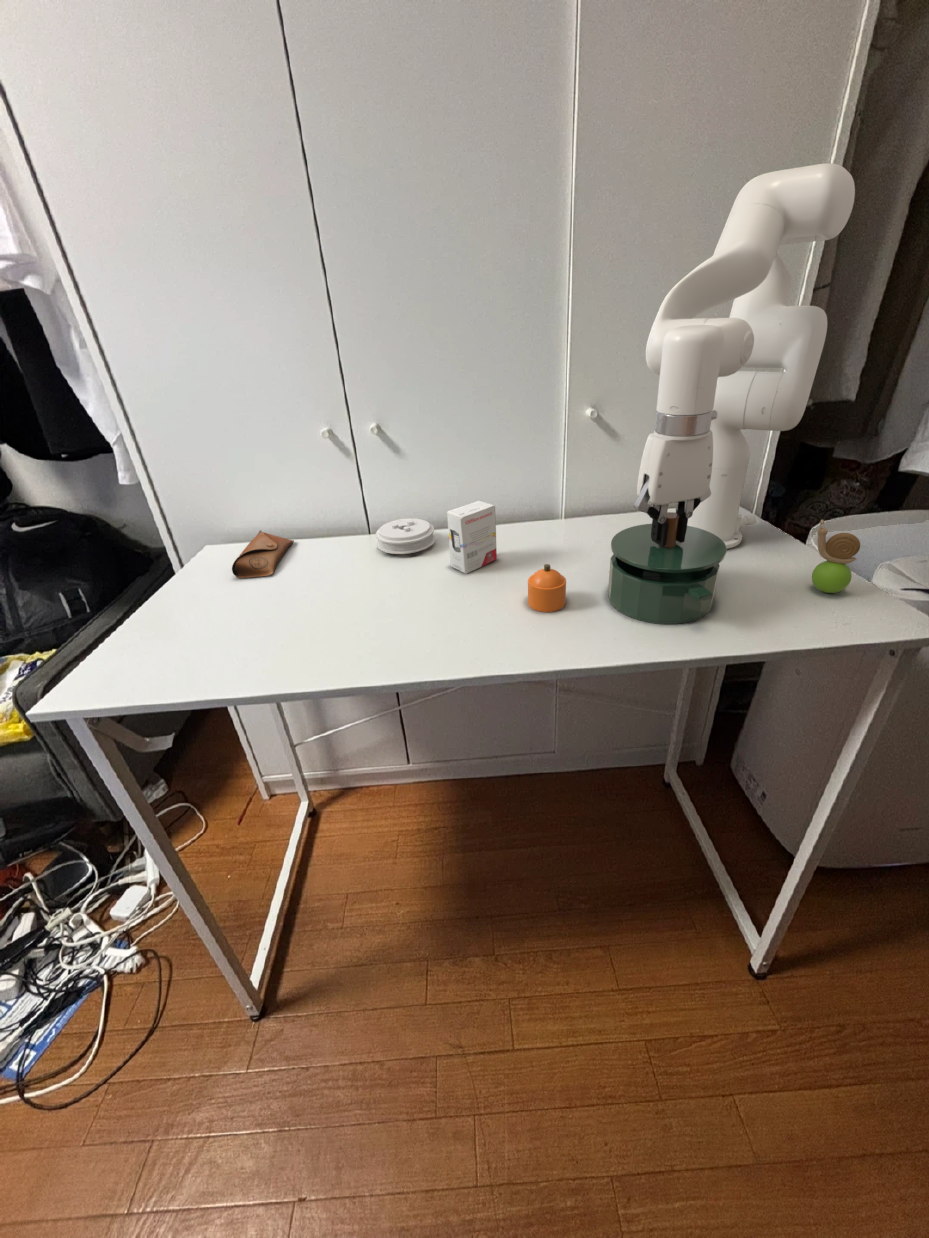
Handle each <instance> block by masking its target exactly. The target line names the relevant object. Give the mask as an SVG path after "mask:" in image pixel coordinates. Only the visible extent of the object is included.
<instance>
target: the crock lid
mask: <svg viewBox="0 0 929 1238" xmlns="http://www.w3.org/2000/svg"><path fill="white" fill-rule="evenodd" d="M679 517H680V515H679V514H677V513H676V512H673V511H669V512H668V511H667V516H666V521H665V522H667V523H668V524H669V525H668V533H667V541H666V545H665V546H662V547H661V546H659V545H658V544H656V543H655V542H653V541H652V539H651V529H652V523H644V524H638V525H634V526H629V527H627V528H625V529H621V530H620V531H619V532H617V533H616V534H615V535H614V536H613V537H612V539H611V540H610V549H611V552H612V553H613V554H614V555H615V556H616V557H617V558H619V559H620V560H622V561H623V562H625V563H627V564H630V565H632V566H635V567H638V568H642V569H646V570H651V571H657V572H667V573H684V572H694V571H700V570H704V569H708V568H710V567H713V566H715V565H717V564H718V563H719V564H720V563H721V562H722V561H723V560H724V559H725V557H726V556H727V550H728V549H727V548H726V545H725V543H724V542H723V541H722V540H721V539H720V538H719V537H718V536H716V535H714V534H712V533H710V532H708V531H705V530H703V529H700V528H696V527H692V526H687V530H686V534H685V541H684V542H681V543H680V542H678V541H677V540H676V539H677V532H678V525H679Z"/></svg>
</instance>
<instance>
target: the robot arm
mask: <svg viewBox="0 0 929 1238" xmlns="http://www.w3.org/2000/svg"><path fill="white" fill-rule="evenodd" d="M855 197H856V186H855V181H854V178H853V176H852V174H851V172H849V171H848V170H847V169H846V168H845V167H844V166H842V165H840V164H837V163H833V162H832V163H831V162H830V163H829V162H825V163H818V164H811V165H806V166H800V167H799V166H798V167H792V168H786V169H780V170H774V171H770V172H766V173H762V174H759V175H757V176H755V177H753V178H751V179H750V180H749V181H748V182H746V183H745V184H744V186H743V187H742V188H741V189H740V191H738V193H737V195H736V197H735V199H734V202H733V204H732V207H731V209H730V212H729V214H728V217H727V219H726V222H725V225H724V227H723V229H722V232H721V233H720V237H719V239H718V241H717V244H716V247H715V249H714V252H713V253H712V256H710V257H708V258H707V259H706V260H705V261H703V262H701V263H700V264H698V266H695V268H693V269H692V270H691V271H690V272H689V273H688V274H686V275H685V276H684V277H683V278H681V280H679V281H678V282H677V283H676V284H675V285H674V286H673V287H672V288H671V289H670V290H669V291H668V293H667V294H666V296H664V299H663V300H662V302H661V304H660V306H659V309H658V311H657V313H656V316H655V318H654V320H653V323H652V326H651V329H650V332H649V334H648V338H647V341H646V345H645V363H646V366H647V368H648V369H649V371H651V372H652V373H653V374H655V375H659V378H658V379H659V380H658V389H657V398H656V407H655V408H656V410H655V411H656V412H655V417H654V419H655V420H654V428H653V429H654V430H653V432H652V433H649V434H648V436H647V438H646V441H645V445H644V448H643V452H642V456H641V460H640V465H639V470H638V477H637V485H636V495H637V498H636V500H635V502H634V504H633V508H634V509H635V510H637V511H639V512H642V513H644V514H647V515H648V516H649V518H651V520H652V521H651V524H652V529H651V539H652V541H653V542H655V543H656V544H658V545H659V546H661V547H662V546H665V545H666V541H667V533H668V525H669V524H668V523H667V522H665V521H666V516H667V512H668V510H669V505H670V504H675V513H677V514H679V515H680V517H679V525H678V532H677V539H676V540H677V541H678V542H680V543H681V542H684V541H685V534H686V530H687V526H692V527H696V528H700V529H703V530H705V531H708V532H710V533H712V534H714V535H716V536H718V537H719V538H720V539H721V540H722V541H723V542H724V543H725V545H726V548H727V550H729V549H732V548H735V547H737V546H739V545H740V544H741V542H742V539H743V534H742V532H741V531H740V529H742V528H743V527H744V526H745V527H747V526H752V525H755V524H756V522H757V517H756V515H754V514H752V515H745V516H742V514H741V513H740V506H741V501H742V496H743V491H744V487H745V481H746V477H747V473H748V466H749V463H750V456H751V451H750V446H749V444H748V441H747V439H746V437H745V436H744V434H743V432H742V430H752V431H753V430H755V431H767V432H769V431H772V432H785V431H790V430H793V429H794V428H795V427H797V426H798V424H799V423H800V422H801V420H802V418H803V416H804V413H805V411H806V407H807V404H808V401H809V398H810V395H811V391H812V388H813V384H814V381H815V377H816V374H817V370H818V367H819V363H820V360H821V356H822V353H823V351H824V350H823V349H824V346H825V341H826V337H827V332H828V331H827V330H828V315H827V313H826V311H825V310H824V309H823V308H821V307H819V306H816V305H786V304H787V301H788V298H789V293H790V291H791V287H792V281H793V280H792V279H793V278H792V275H791V272H790V270H789V268H788V266H787V265H786V263H785V262H784V260H783V259H782V257H780V255H779V254H778V253H777V252H778V249H779V247H780V245H793V244H802V243H811V242H812V243H813V242H823V241H829V240H832V239H835V238H836V237H837V236H839V235H840V234H841V232H842V231H843V229H844V228H845V227H846V225H847V223H848V221H849V219H850V217H851V215H852V211H853V208H854V203H855ZM731 301H733V302H732V306H731V310H730V312H729V317H712V318H711V317H698V318H697V317H696V316H698V315H699V314H702V313H704V312H706V311H709V310H710V309H713V308H715V307H716V308H717V307H719V306H721V305H723V304H726V303H728V302H729V303H730V302H731ZM742 368H756V369H757V368H760V369H761V368H763V369H764V368H765V369H770V368H771V369H775V368H776V369H784V370H785V371H759V370H741V369H742ZM649 501H650V504H649Z"/></svg>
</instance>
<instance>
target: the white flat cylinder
mask: <svg viewBox="0 0 929 1238" xmlns="http://www.w3.org/2000/svg"><path fill="white" fill-rule="evenodd" d="M434 532H435V527H434V525H433V524H432V523H430V522H428V521H427V520H424V519H421V518H412V517H411V518H410V517H409V518H400V519H394V520H390V521H388V522H386V523H384V524H382V525H381V526H380V527H379V528H378V529H377V530H376V532H375V538H376V539H377V543H376V546H377V548H378V549H379V550H380V551H381V552H383V553H387V554H392V555H393V554H394V555H404V554H405V555H406V554H413V553H417V552H421V551H425V550H426V549H428V548H430V547H431V546H433V545H434V543H435V542H436V537H435V535H434Z"/></svg>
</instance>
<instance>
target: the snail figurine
mask: <svg viewBox="0 0 929 1238" xmlns="http://www.w3.org/2000/svg"><path fill="white" fill-rule="evenodd" d="M824 523H825V519H821V520H820V521H819V528H818V529H817V532H816V534H817V549H818V550H817V551H818V554H819V556H820V557H821V558H822V559H824V561H822V562H820V563H818V564H817V565H816V567H814V569H813V570H812V573H811V581H812V584H813V586H814V587H815V588H816V589H817V590H818V591H821V592H822V593H827V594H835V593H839V592H841V591H843V590H845V589H846V588H847V587H848V586H849V584H850V583H851V581H852V575H853V574H852V571H851V569H850V566H849V565H848V564H851V563H853V562H855V561H856V560H857V558H856V557H854V556H856V555H857V554H858V553H859V551H860V550H861V541H860V539H859V538H858V537H857V536H856V535H854V534H853V533H849V532H840V533H839V532H838V533H836V534H833V535H832V536H830V538H828V540H827V535H828V533H829V532H828V531H829V530H828V529H827V527H824V526H822V525H824Z"/></svg>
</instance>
